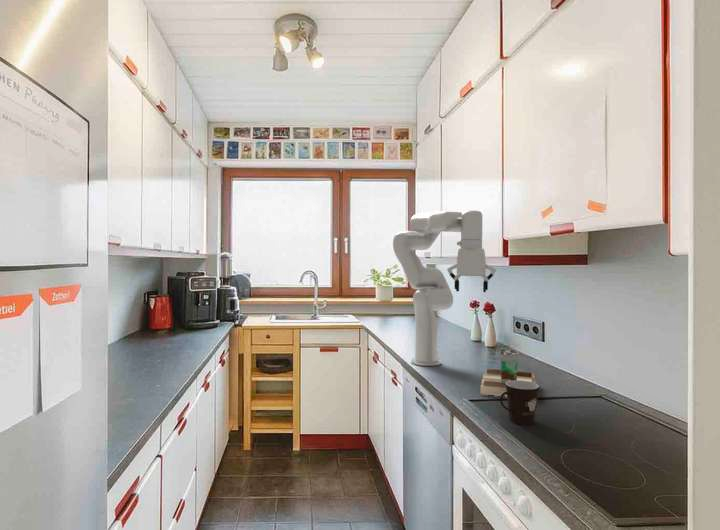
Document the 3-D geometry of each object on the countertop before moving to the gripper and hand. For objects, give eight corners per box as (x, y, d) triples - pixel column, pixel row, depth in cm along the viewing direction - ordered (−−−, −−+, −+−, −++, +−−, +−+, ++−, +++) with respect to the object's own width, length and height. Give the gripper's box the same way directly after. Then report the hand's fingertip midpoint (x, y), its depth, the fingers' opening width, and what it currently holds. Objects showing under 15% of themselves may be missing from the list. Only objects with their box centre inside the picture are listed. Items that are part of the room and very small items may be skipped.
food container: (521, 386, 147) (521, 355, 146) (501, 385, 148) (501, 354, 148) (519, 377, 158) (519, 348, 158) (500, 375, 160) (501, 347, 160)
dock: (484, 380, 165) (484, 368, 165) (534, 385, 159) (534, 372, 159) (480, 394, 148) (480, 381, 148) (536, 400, 142) (536, 386, 142)
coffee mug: (530, 415, 129) (530, 380, 129) (544, 426, 120) (544, 389, 120) (490, 415, 128) (490, 380, 128) (500, 427, 120) (501, 389, 119)
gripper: (446, 244, 165) (445, 291, 165) (495, 244, 159) (495, 293, 159) (449, 245, 172) (448, 290, 172) (496, 245, 166) (496, 291, 166)
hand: (471, 291), depth 166 cm, fingers open, 9 cm apart
